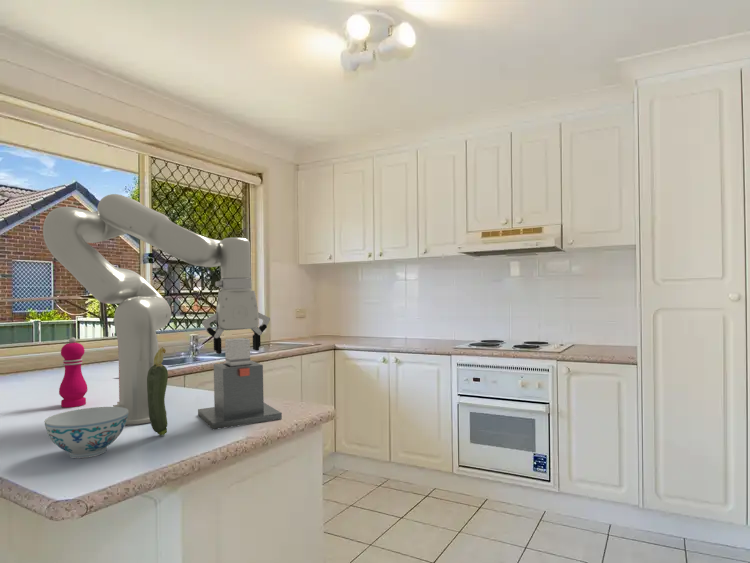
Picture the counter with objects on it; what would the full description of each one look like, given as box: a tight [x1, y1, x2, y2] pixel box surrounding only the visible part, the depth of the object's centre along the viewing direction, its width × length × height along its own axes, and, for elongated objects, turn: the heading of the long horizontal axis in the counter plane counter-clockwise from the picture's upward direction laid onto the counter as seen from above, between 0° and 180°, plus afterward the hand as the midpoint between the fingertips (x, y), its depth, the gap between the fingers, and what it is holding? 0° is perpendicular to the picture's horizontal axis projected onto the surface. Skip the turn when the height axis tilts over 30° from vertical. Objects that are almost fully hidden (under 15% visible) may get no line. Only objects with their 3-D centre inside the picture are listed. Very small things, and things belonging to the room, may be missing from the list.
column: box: [224, 337, 251, 367], centre depth 131 cm, size 5×5×18 cm
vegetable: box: [147, 347, 169, 436], centre depth 116 cm, size 4×4×20 cm
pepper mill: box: [58, 336, 89, 408], centre depth 149 cm, size 7×7×20 cm
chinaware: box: [43, 406, 129, 459], centre depth 104 cm, size 15×15×8 cm
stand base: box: [197, 360, 283, 430], centre depth 131 cm, size 17×17×14 cm
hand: (237, 351), depth 131 cm, fingers open, 9 cm apart
